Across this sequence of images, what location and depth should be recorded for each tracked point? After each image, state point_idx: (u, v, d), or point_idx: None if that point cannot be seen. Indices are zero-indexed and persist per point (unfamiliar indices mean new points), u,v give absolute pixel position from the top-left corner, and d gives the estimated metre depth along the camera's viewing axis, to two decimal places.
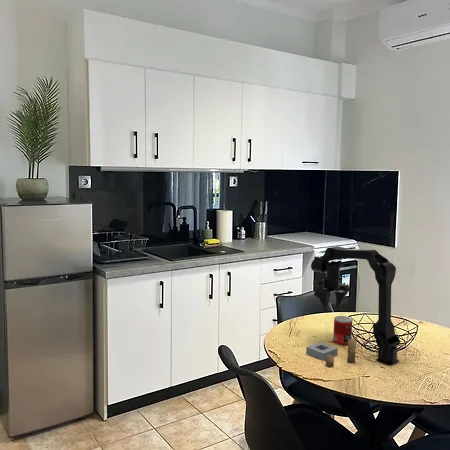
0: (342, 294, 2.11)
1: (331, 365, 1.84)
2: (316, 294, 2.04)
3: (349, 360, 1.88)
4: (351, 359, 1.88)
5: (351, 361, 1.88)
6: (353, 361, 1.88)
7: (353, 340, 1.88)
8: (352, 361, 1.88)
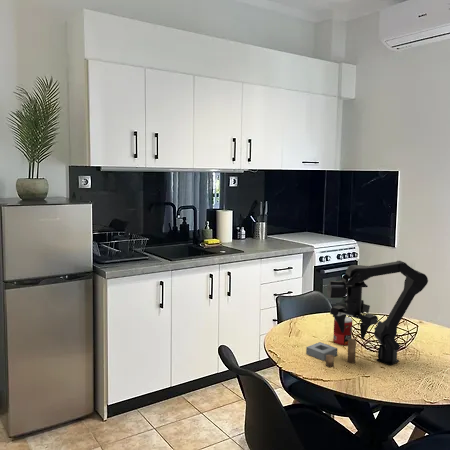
0: None
1: (331, 365, 1.84)
2: None
3: (349, 360, 1.88)
4: (351, 359, 1.88)
5: (351, 361, 1.88)
6: (353, 361, 1.88)
7: (353, 340, 1.88)
8: (352, 361, 1.88)
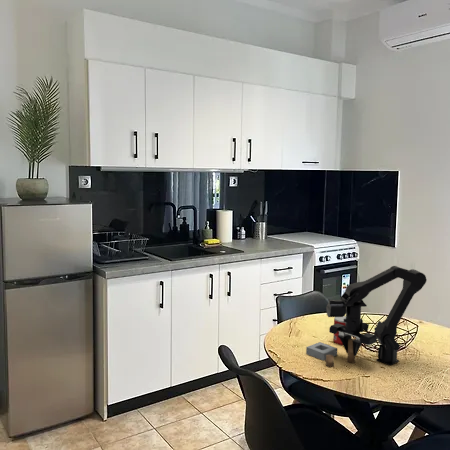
0: None
1: (331, 365, 1.84)
2: None
3: (349, 360, 1.88)
4: (351, 359, 1.88)
5: (351, 361, 1.88)
6: (353, 361, 1.88)
7: (353, 340, 1.88)
8: (352, 361, 1.88)
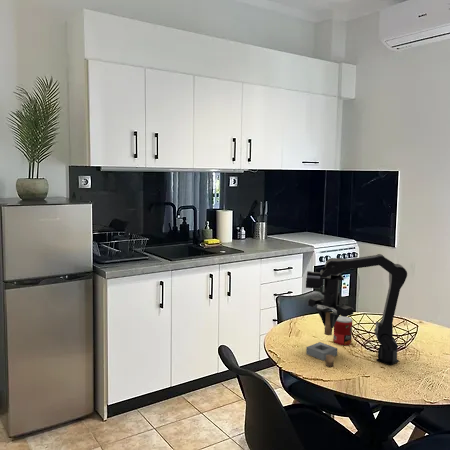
0: None
1: (331, 365, 1.84)
2: None
3: (326, 332, 1.92)
4: (328, 331, 1.92)
5: (328, 333, 1.92)
6: (330, 333, 1.92)
7: None
8: (329, 333, 1.92)
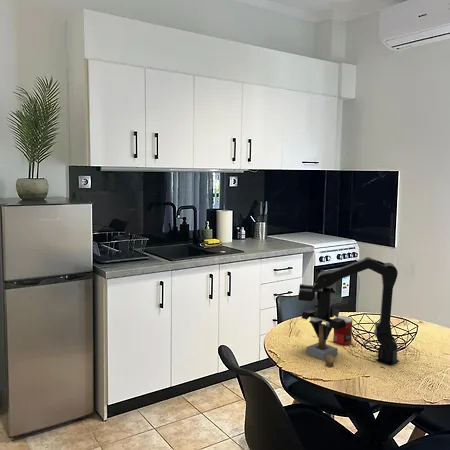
0: None
1: (331, 365, 1.84)
2: None
3: (320, 344, 1.95)
4: (321, 343, 1.94)
5: (322, 345, 1.94)
6: (324, 345, 1.95)
7: None
8: (323, 345, 1.94)
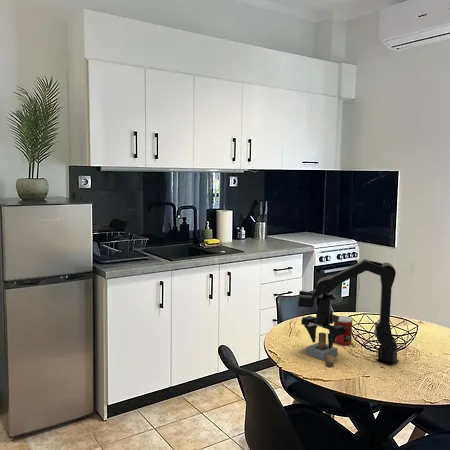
0: None
1: (331, 365, 1.84)
2: None
3: None
4: None
5: None
6: None
7: (323, 334, 1.95)
8: None
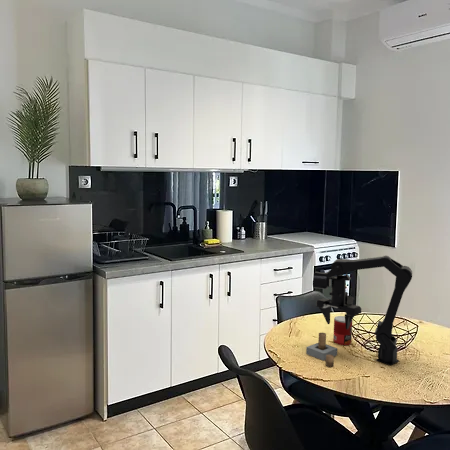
0: None
1: (331, 365, 1.84)
2: None
3: None
4: None
5: None
6: None
7: (323, 334, 1.95)
8: None
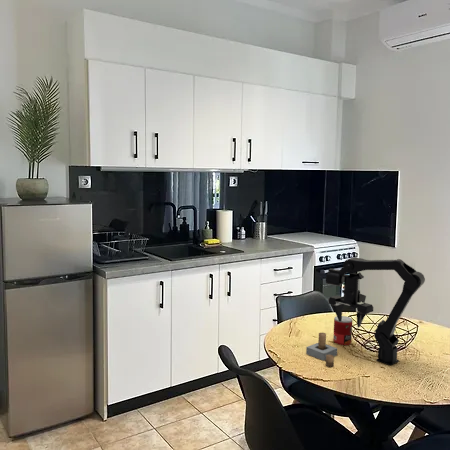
0: None
1: (331, 365, 1.84)
2: None
3: None
4: None
5: None
6: None
7: (323, 334, 1.95)
8: None
